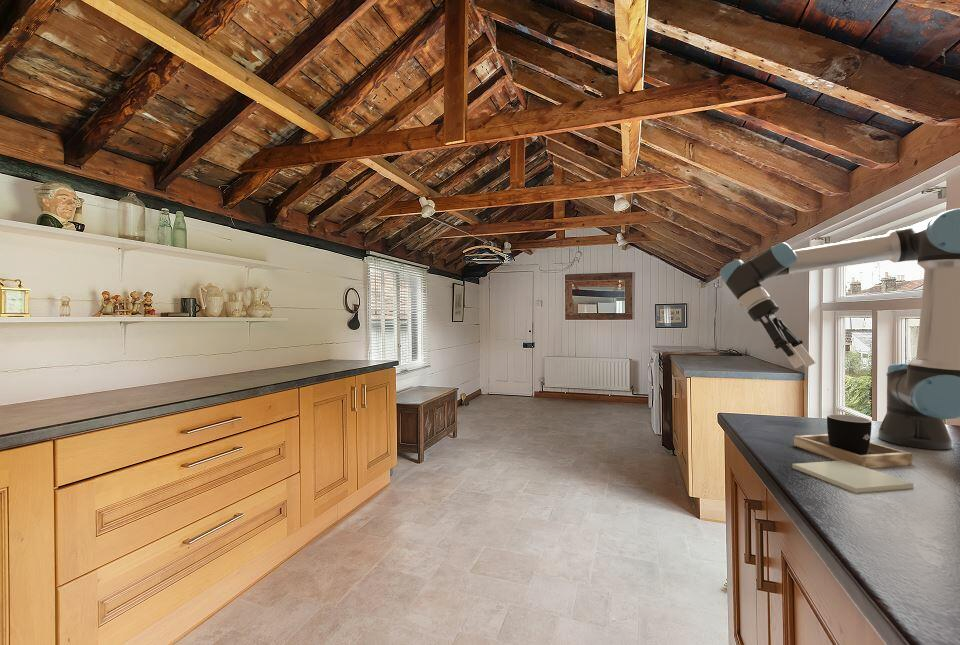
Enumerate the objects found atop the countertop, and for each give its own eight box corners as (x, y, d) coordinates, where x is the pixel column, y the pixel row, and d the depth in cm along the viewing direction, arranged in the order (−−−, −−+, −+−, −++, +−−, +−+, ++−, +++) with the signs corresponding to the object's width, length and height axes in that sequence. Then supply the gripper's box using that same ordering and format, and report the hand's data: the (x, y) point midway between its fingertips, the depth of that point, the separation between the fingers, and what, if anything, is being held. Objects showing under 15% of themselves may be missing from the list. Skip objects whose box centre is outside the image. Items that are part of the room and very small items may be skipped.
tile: (843, 464, 108) (843, 460, 108) (913, 488, 93) (913, 483, 93) (792, 467, 105) (792, 463, 105) (855, 493, 90) (855, 488, 90)
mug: (868, 464, 108) (868, 424, 107) (823, 455, 114) (823, 417, 114) (874, 453, 116) (875, 416, 115) (832, 446, 122) (832, 410, 122)
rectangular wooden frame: (839, 442, 125) (839, 433, 125) (912, 464, 107) (912, 453, 107) (793, 445, 123) (794, 436, 123) (861, 468, 105) (861, 457, 105)
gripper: (759, 314, 141) (802, 370, 132) (733, 309, 125) (781, 373, 115) (781, 301, 137) (828, 358, 128) (758, 293, 120) (810, 359, 111)
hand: (806, 365), depth 122 cm, fingers open, 13 cm apart
